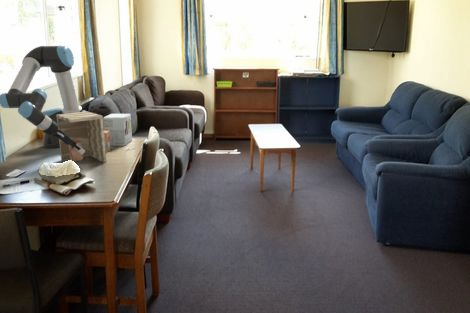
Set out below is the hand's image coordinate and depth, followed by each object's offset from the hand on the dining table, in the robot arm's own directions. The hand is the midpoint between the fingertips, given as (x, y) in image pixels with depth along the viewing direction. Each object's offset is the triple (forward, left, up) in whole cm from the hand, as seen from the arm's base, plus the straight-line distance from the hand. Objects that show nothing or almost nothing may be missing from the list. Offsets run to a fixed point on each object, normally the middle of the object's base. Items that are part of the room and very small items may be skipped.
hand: (81, 151), depth 250 cm
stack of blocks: (-23, +15, -7) cm, 28 cm away
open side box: (-3, +2, -6) cm, 7 cm away
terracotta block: (0, -3, -4) cm, 5 cm away
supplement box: (-33, +37, -7) cm, 50 cm away
